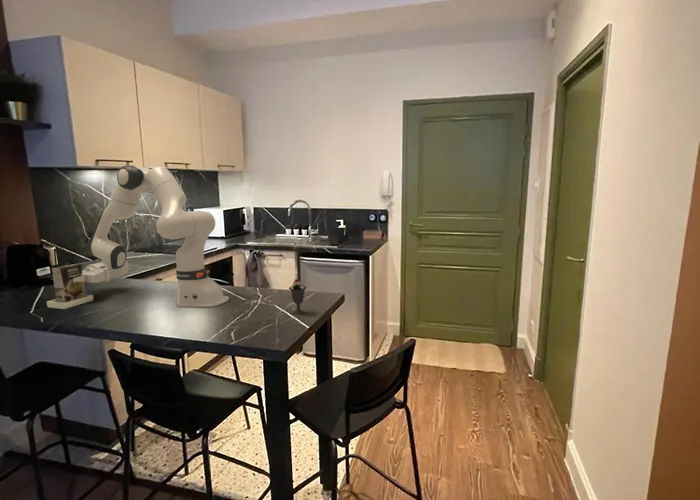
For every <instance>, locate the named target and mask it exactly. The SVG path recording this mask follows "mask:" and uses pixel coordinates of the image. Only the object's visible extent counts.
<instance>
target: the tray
mask: <svg viewBox="0 0 700 500" xmlns="http://www.w3.org/2000/svg"><path fill="white" fill-rule="evenodd" d="M85 295H86V297H83V298H80V299H76V300H73V301H69V302H66V303H60V302H56V298H55V299H51V300H48V301H46V306H47V308H50V309H60V310H67V309H71V308H74V307H77V306H80V304H81V305H83V304H87V303H90V302H94V295H93V294H86V293H85Z"/></svg>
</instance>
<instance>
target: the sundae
mask: <svg viewBox="0 0 700 500" xmlns="http://www.w3.org/2000/svg"><path fill="white" fill-rule="evenodd" d="M297 275H298V274H295V276H296V279H294V281H293V282H292V284H291V286H290V287H288V290H290V293H291V299H292V302H293V303H294V304H295V305H296V310H294V311H292V314H293V315H297V316H298V315H304V314H305V313H306V311H305V310H302V309H301V304H302V303H303V302H304V299H305V297H304V295H305V290H306V289H307V286H305V285H303V284H302V282H301V281H300V279H299V277H298V276H297Z"/></svg>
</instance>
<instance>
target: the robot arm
mask: <svg viewBox="0 0 700 500" xmlns="http://www.w3.org/2000/svg"><path fill="white" fill-rule="evenodd" d="M116 180H117V182H116V184H115V186H114V189H113V192H112V194H111V199H110V202H109V204H108V205H107V206H105V207H104V208H103V209H102V211H101V213H100V215H99V217H98V220H97V223H96V226H94V227H95V228H94V231H93V233H92V235H91V236H90V238H89V240H88V242H87V243H86V250H87V253H88V255H90V256H92V257H94V258H98V259H99V260H100V262H96V263H95V262H94V263H91V264H88V265H86V266H85V268H84V269H82V274H81V275H82V276H81V277H76V278H71V282H81V281H82V282H84V283H91V284H97V283H98V284H99V283H105V282H106V283H107V282H110V280H112V279H113V280H114V279H116V278H120V277H122V276H124V275H125V274H127V273H128V271H129V269H130V265H129V262H128V261H127V253H128V252H127V249H126V247H125V246H123V245H122V244H119V243H117V242H115V241H113V240H110V239H109V237H108V235H109V233H110V229H111V228H112V225H113V223H114V222H115V221H117V220H127V219H129V218H130V219H131V217H133V216H134V215H135V214H136V212H137V211H138V206H139V204H140V203H139V202H140V197H141V194H142V193H148V194H153V195H154V197H155V198H156V200H157V202H158V205H159V207H160V208H161V214H160V216H159V217H158V219H157V221H156V230H157V233H158V234H159V235H160V236H161V238H163V239H168V240H179V239H184V241H183V244H182V245H181V246H180V247H179V248H178V249H177V250H176V253H175V259H176V260H175V263H176V270H175V271H176V272H175V276H176V279H177V290H176V291H177V293H176V294H177V295H176V299H175V303H176V307H183V308H184V307H185V308H186V307H188V308H213V307H217V306H219V305H222V304H224V303H226V302H228V301H229V299H230V297H229V296H227V295H224V292H223V288H222V286H221V285H220V284H219V283H217V282H216V281H215V280H213V279H212V278H211V277H210V276H209V274H210V271H211V270H210V269H209V270H207V269H206V268H205V260H204V259H205V258H204V251H205V246H206V243H207V240H208V238H209V236H210V235H211V233H212V232H213V231H214V230H215V227H216V219H215V217H214V215H213V214H212V213H211V212H209V211H204V210H193V211H185V210H184V209H183V207H184V206H185V204H186V203H187V195H186V194H185V192H184V190H183V189H182V187H181V186H180V184H179V182H178V180H177V179H176V178H175V176H174V175H173V174H172V173H171V171H170V170H169V169H167V168H166V167H164V166H159V165H158V166H153V167H152V168H148V167H143V166H135V165H123V166H121V167H120V168H119V169H118V171H117V174H116Z"/></svg>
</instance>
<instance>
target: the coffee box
mask: <svg viewBox="0 0 700 500" xmlns="http://www.w3.org/2000/svg"><path fill="white" fill-rule="evenodd" d="M82 270H83V266H82V264H81V263H74V264H66V265H65V264H64V265H60V266H55V267H51V271H52V279H53V287H54V292H55V293H54V294H55V299H56V302H60V303H66V302H69V301H73V300H76V299H80V298H83V297H86V295H87V294H86V289H85V282H82V281H81V282H71V278H76V277H81V276H82V275H81V274H82ZM85 294H86V295H85Z"/></svg>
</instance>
